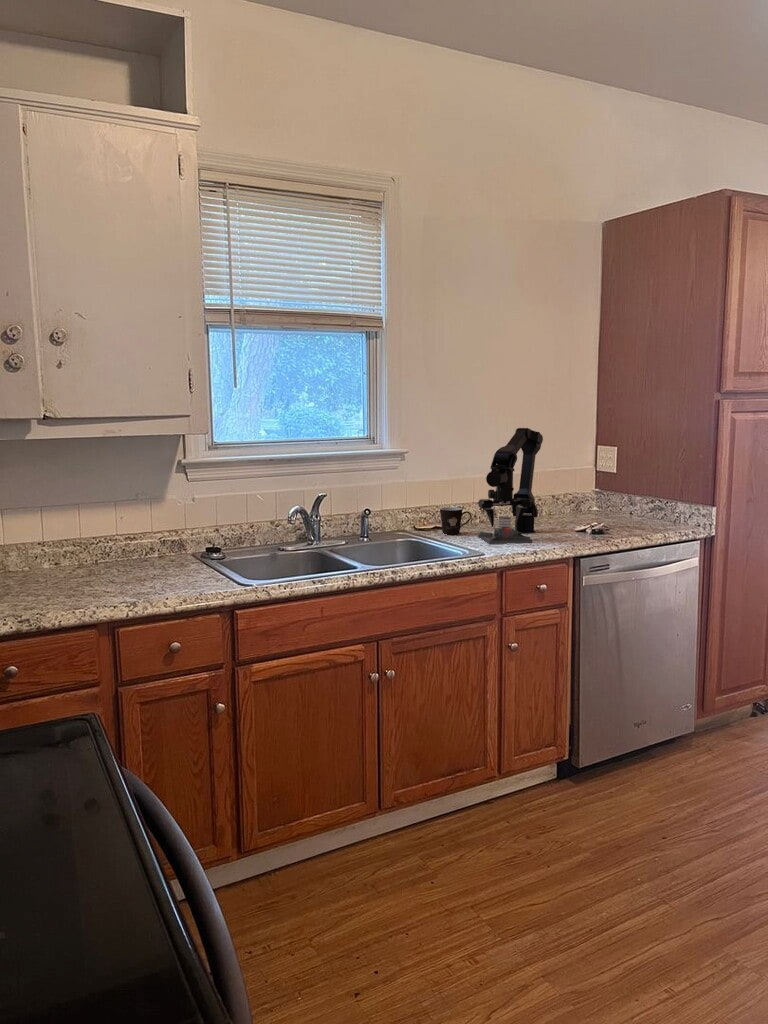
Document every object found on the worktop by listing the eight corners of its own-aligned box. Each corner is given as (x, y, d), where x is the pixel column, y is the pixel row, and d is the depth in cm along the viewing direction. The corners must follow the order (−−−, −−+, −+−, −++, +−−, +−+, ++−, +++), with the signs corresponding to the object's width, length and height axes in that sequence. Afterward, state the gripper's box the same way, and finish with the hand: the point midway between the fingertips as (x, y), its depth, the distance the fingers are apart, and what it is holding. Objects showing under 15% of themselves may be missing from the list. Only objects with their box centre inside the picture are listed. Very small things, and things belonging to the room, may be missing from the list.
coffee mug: (437, 535, 299) (437, 509, 297) (443, 532, 307) (443, 506, 305) (467, 537, 295) (467, 510, 293) (472, 533, 303) (472, 507, 302)
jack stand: (518, 535, 297) (518, 523, 297) (532, 542, 282) (532, 529, 281) (477, 536, 295) (477, 524, 294) (489, 544, 279) (489, 531, 279)
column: (507, 534, 290) (507, 516, 289) (510, 536, 287) (510, 517, 286) (498, 535, 290) (498, 516, 289) (501, 536, 286) (501, 517, 285)
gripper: (522, 481, 295) (521, 522, 297) (474, 482, 292) (474, 523, 294) (532, 484, 284) (531, 526, 286) (482, 485, 281) (482, 528, 283)
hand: (504, 526), depth 288 cm, fingers open, 9 cm apart
